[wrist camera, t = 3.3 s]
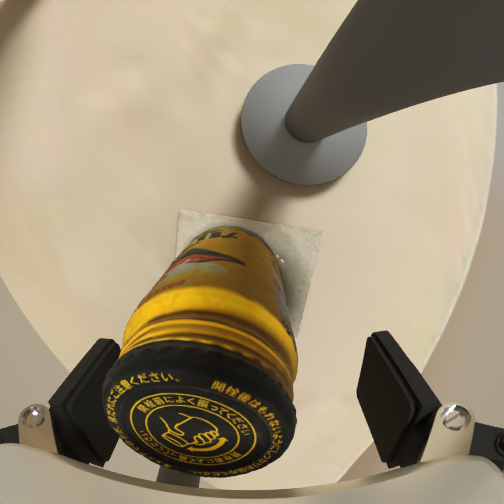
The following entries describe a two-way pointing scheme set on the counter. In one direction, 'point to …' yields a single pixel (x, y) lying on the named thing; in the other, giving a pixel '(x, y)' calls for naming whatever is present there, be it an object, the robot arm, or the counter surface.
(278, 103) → the stand
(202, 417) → the condiment
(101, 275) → the counter surface
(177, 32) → the counter surface
